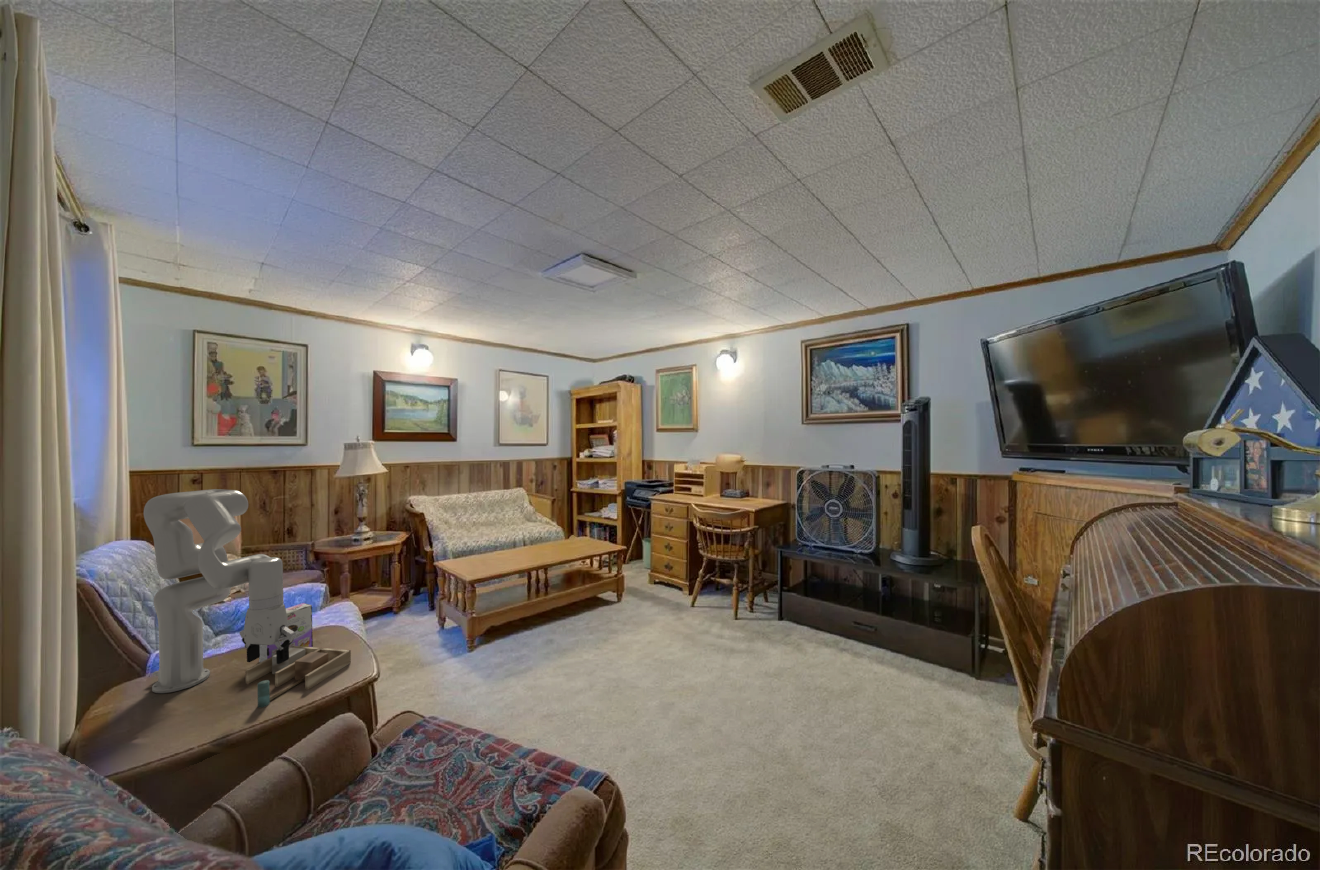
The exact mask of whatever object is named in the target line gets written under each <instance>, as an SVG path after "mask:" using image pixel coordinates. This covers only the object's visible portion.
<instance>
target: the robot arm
mask: <svg viewBox="0 0 1320 870" xmlns="http://www.w3.org/2000/svg"><path fill="white" fill-rule="evenodd" d="M248 508H249V501H248V498H247V496H246V495H245V494H244V493H242V492H241V491H239V490H237V489H223V488H222V489H217V488H214V489H201V490H191V491H180V492H172V493H165V494H161V495H157V496H154V497H152V498H150V499H149V500H147V502H146V503H145V504H144V507H143V518H144V522H145V524H146V526H147V528H148V531H150V534H151V536H152V538H153V544H154V545H153V546H154V547H153V548H154V552H155V553H154V554H155V562H156V563H155V564H156V568H157V574H158V575H159V577H160V578H161V579H163V580H175V579H180V578H181V579H182V578H185V577H190V576H193V575H198V574H201V575H202V576H201V577H200V576H199V577H196V578H192V579H188V580H183V581H179V582H176V583H173V584H169V585H166V586H165V587H162V588H161V589H159V590H158V591H157V592H156V593H155V595H154V597H153V607H154V610H155V614H156V617H157V624H158V625H157V626H158V658H159V659H158V660H159V661H158V664H159V665H158V666H159V667H158V670H155V671H153V673H152V676H153V677H157V681H155V683H153V685H152V686H151V691H152V692H153V693H156V694H167V693H173V692H178V691H183V690H185V689H188V688H191V687H193V686H196V685H198V684H201V683H202V682H204V681H205V680H207V679H208V678H210V675H211V671H210V669H208V668H205V667H204V628H203V627H204V625H203V621H202V618H200V617H199V616H197V615H196V614H194V613H193V611H195V610H197V609H198V610H199V609H201V608H203V607H204V608H205V607H207V606H211V605H214V604H217V603H220V602H223V601H224V600H226V599H227V598H228V597H229V596H230V594H231V588H233V587H238V586H240V585H244V584H248V608H247V610H246V613H245V619H244V627H243V629H242V630H240V631H239V635H240V638H241V642H242V643H243V644H244V648H245V649H246V662H247V663H252V662H253V661H255V660H258V659H259V657H260V645H272V644H275V645H276V647H277V648H278V649H279V650H277V651H276V660H277V664H281V663H283V662H284V661H286V660H288V659H289V646H290V645H291V643H292V642H293V639H294V637H295V635H296V633H295V632H294V631H292V630H291V629H289V628H288V620H287V613H286V609H285V608H286V605H285V603H284V569H283V567H284V566H283V565H284V564H283V560H282V559H281V558H279V557H275V556H274V557H273V556H272V557H270V556H269V555H267V554H264V553H263V554H262V553H259V554H258V553H257V554H253V555H249V556H248V555H247V556H244V557H243V556H242V557H239V558H235V559H231V560H229V559H228V554H227V551H226V549H225V547H224V546H225V545H227V544H229V543H231V542H233V541H234V540H235V539H236V538H237V537H238V536H239V535H240V534H241V531H242V527H241V525H240V523H239V522H238V521H237V519H236V518H235V517H237V516H238V517H239V516H243V514H245V513H246V512H247V511H248ZM187 519H188V520H189V521H190V522H191V524H192V525H193V526H194V528H195V530H196V532H198V534H199V536H200V537H201V539H203V541H204V542H201V543H195V542H194V541H195V540H194V533H193V529H191V527H190V526H188V525H187V524H186V523H185V522H183V521H182V520H187ZM280 641H283V644H281V643H280Z"/></svg>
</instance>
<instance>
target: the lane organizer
mask: <svg viewBox="0 0 1320 870" xmlns="http://www.w3.org/2000/svg"><path fill="white" fill-rule="evenodd" d="M290 648H302V649H305V655H307V654H309V653H311V652H320V653H328V662H327V663H325V664H324V665H322V666H320V667H319V668H317V669H315V670H314V671H312V672H310V673H309V674H307V675H305V681H304V685H305V687H304V690H310V689H312V688H313V687H314V686H316V685H319V683H321V682H323V681H324V680H326V679H327V678H329V677H331V676H332V675H334V674H335V673H337V672H339V671H340V670H341V669H343V668H344V667H346V666H348V665H350V664H351V663H352V659H351V657H352V655H351V654H352V653H351V651H352V650H349V649H339V648H327V647H315V646H313V647H304V646H292V647H290ZM244 671H245V684H247V685H249V684H251V683H253V682H255V681H257V680H258V679H260V678H263V677H264V676H265V675H268V674H270V673H272V657H270V658H268V659H266V660H264V661H263V662H261V663H260V662H258V663H257V664H255V665H252V666H251V667H249V668H247V669H245V670H244ZM293 678H294V679H295V662H294V663H292V664H290V665H288V666H287V667H285V668H283V669H281V670H279V671H277V672H276V673H275V674H274V687H277V688H278V687H280V686H282V685H283V684H285V683H287V682H289V681H291V680H292V679H293Z"/></svg>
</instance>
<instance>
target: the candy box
mask: <svg viewBox="0 0 1320 870" xmlns="http://www.w3.org/2000/svg"><path fill="white" fill-rule="evenodd" d="M285 609H286V613H287V620H288V628H289V629H291V630H292V631H294V632H295V633H296V635H295V637H294V639H293V642H292V643H291V645H290V646H289V648H290V647H292V646H304V647H314V642H313V604H309V603H306V602H301V603H299V604H295V605H293V606H289V607H285ZM280 643H281V644H283V641H280ZM277 650H279V649H278V648H277V647H276V645H275V644H272V645H260V657H259V658H258V663H261V662H263V661H264V660H266V659H268V658H270V657H272V656H274V655H276V651H277Z"/></svg>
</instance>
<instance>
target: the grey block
mask: <svg viewBox="0 0 1320 870" xmlns="http://www.w3.org/2000/svg"><path fill="white" fill-rule="evenodd" d="M303 656H305V649H302V648H289V659H288V660H286V661H284V662H283V663H281V664H277V660H276V655H274V656H272V671H271V673H272V675H275V673H276V672H277V671H279V670H281V669H283V668H285V667H287V666H288V665H290V664H292V663H294V662H295V661H296V660H298V659H300V658H302V657H303Z"/></svg>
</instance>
